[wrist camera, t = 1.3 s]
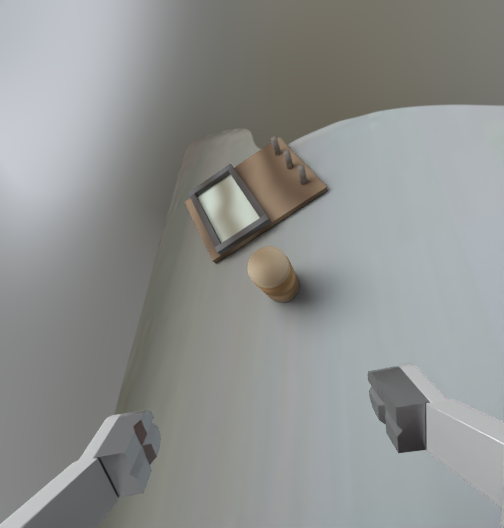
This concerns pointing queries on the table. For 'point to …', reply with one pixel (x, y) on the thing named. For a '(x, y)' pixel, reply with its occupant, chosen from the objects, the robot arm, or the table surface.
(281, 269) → the tan domed cylinder
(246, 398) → the table surface
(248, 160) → the wooden key rack
